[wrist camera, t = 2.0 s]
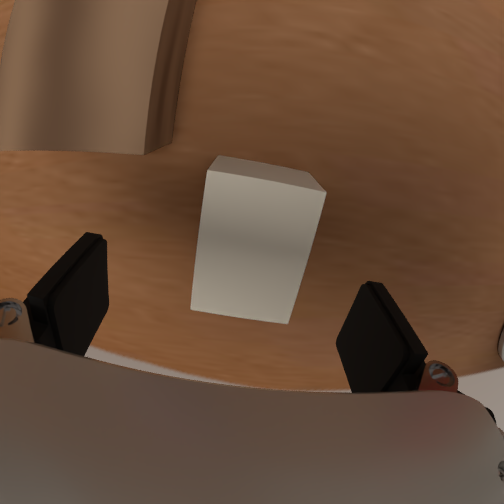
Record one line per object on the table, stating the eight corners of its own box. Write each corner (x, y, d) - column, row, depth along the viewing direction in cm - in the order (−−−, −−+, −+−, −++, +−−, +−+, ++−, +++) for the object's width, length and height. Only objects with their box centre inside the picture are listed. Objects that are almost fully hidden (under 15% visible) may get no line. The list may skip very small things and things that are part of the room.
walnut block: (206, -33, 11) (191, -74, 7) (172, 141, 16) (143, 155, 11) (71, -18, 10) (29, -39, 6) (44, 136, 15) (-6, 151, 11)
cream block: (307, 171, 16) (326, 192, 12) (280, 279, 20) (287, 324, 15) (218, 154, 16) (207, 170, 12) (202, 266, 19) (190, 309, 15)
